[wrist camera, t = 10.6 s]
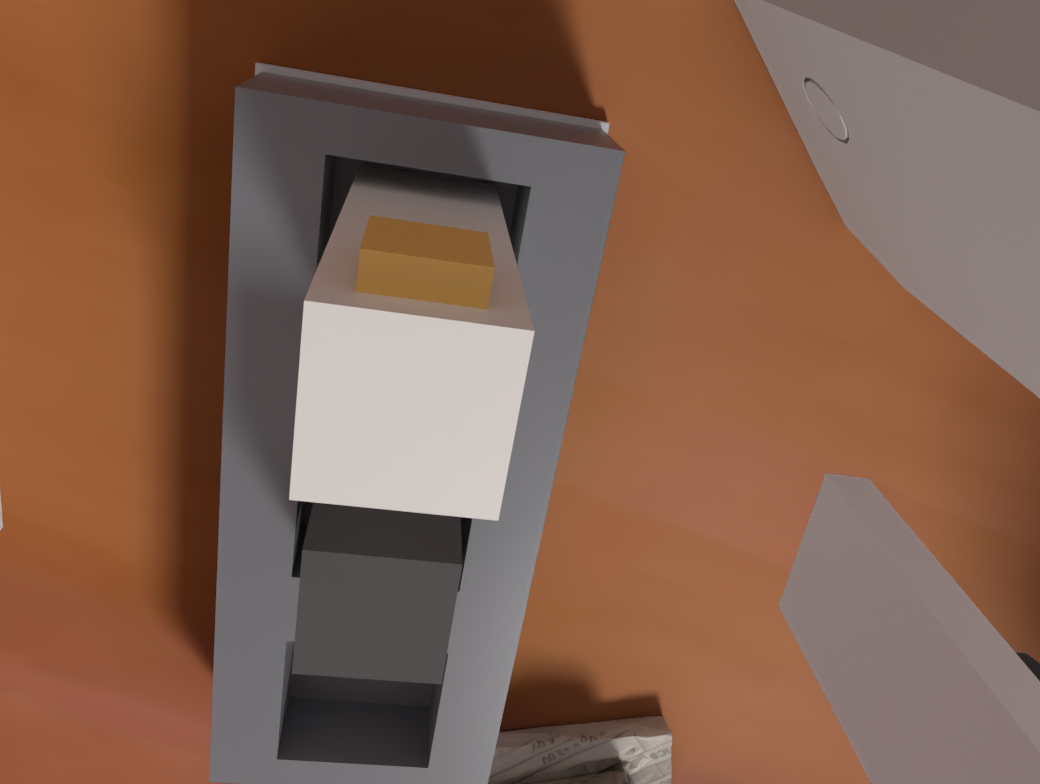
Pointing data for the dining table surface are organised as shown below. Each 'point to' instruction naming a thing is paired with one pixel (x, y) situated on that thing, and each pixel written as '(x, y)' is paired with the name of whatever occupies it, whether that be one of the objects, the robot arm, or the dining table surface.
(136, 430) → the dining table surface
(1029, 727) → the robot arm
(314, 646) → the dark grey block
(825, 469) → the dining table surface
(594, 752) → the packaged product
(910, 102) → the electrical switch box
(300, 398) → the plug
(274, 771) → the socket strip
